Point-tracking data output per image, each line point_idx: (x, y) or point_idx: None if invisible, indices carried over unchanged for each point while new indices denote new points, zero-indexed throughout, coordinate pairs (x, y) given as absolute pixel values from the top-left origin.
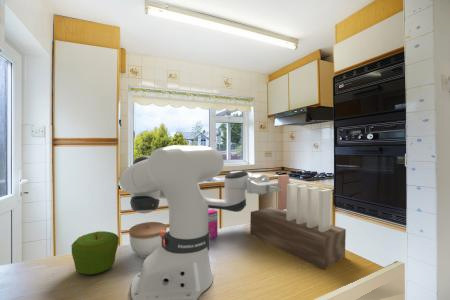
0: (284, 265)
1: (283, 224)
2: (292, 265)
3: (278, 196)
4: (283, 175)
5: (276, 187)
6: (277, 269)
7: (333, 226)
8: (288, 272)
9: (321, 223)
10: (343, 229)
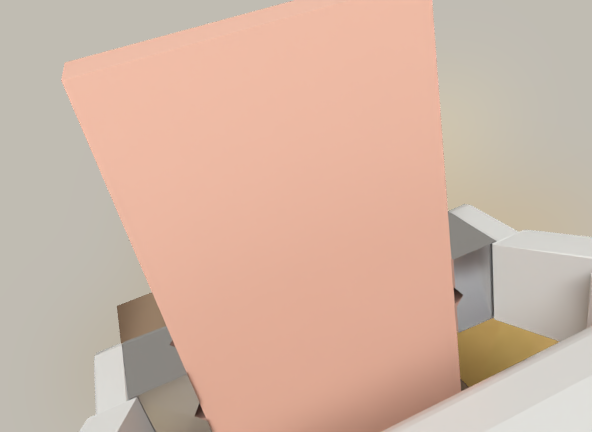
0: (503, 366)
1: (463, 386)
2: (462, 365)
3: (453, 394)
4: (281, 6)
5: (500, 223)
6: (545, 342)
7: (137, 335)
8: (497, 325)
9: None
10: (131, 303)
